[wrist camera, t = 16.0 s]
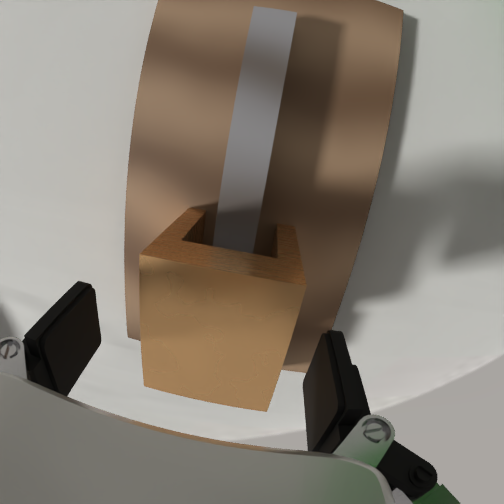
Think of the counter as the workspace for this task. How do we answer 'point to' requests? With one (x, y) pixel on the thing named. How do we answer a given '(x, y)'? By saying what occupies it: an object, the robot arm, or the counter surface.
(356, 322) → the counter surface
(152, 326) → the wooden block
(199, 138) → the rail board
